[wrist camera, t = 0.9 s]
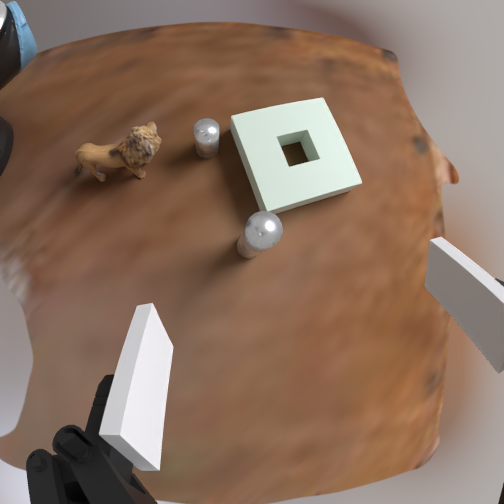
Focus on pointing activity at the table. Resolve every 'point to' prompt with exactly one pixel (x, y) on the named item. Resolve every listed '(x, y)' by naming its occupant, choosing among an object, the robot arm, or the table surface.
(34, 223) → the table surface
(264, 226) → the tall peg
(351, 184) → the socket block
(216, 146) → the short peg
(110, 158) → the lion figurine
